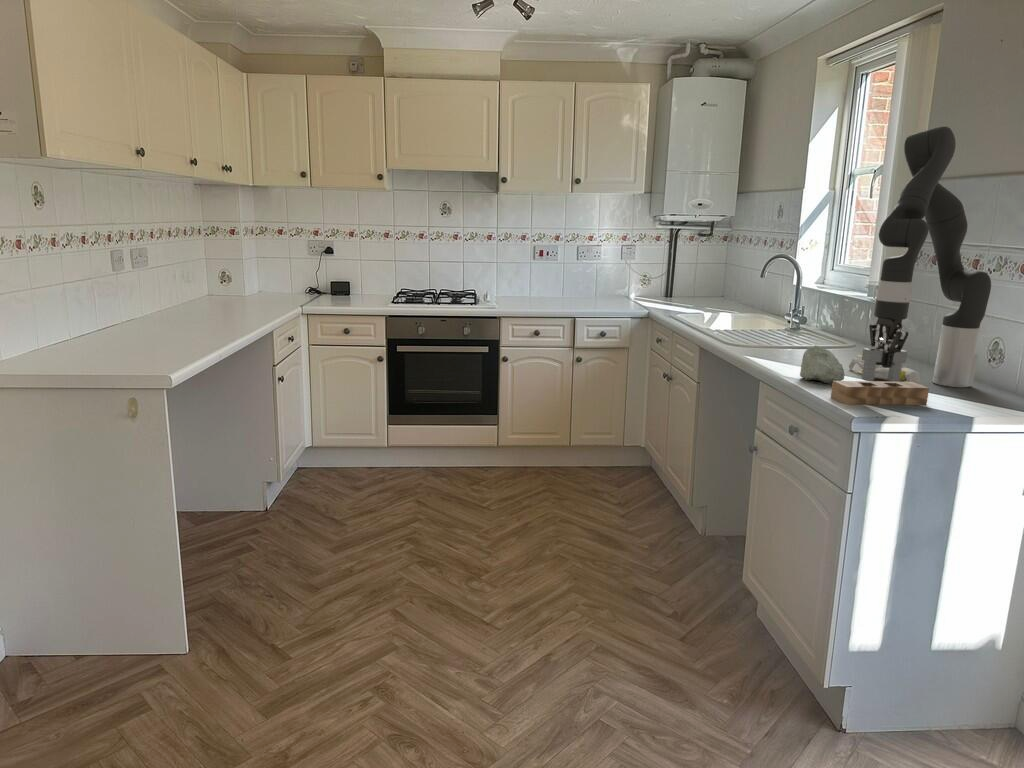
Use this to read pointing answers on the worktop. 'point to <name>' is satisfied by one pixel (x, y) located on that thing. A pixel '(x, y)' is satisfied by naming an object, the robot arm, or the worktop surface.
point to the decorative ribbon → (883, 372)
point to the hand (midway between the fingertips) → (882, 365)
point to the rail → (879, 392)
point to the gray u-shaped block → (877, 356)
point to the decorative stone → (821, 366)
